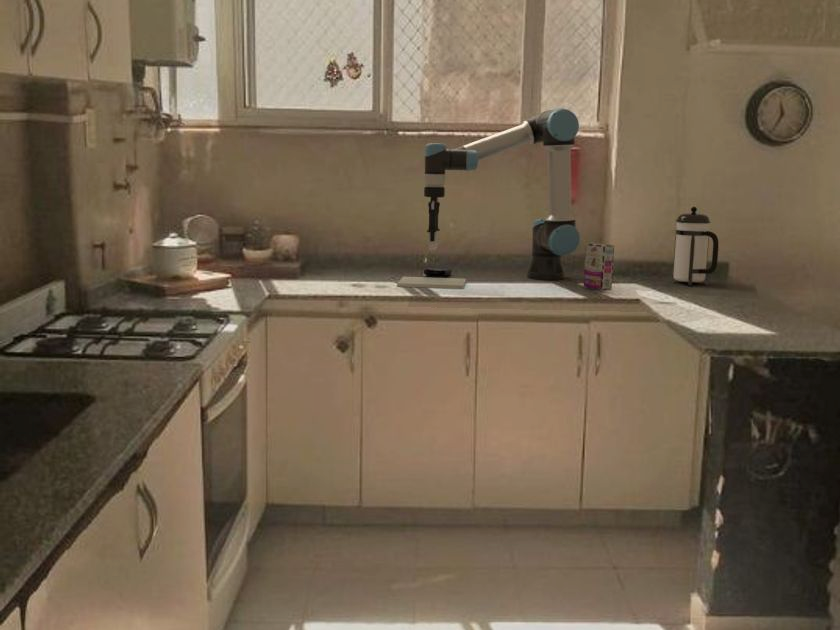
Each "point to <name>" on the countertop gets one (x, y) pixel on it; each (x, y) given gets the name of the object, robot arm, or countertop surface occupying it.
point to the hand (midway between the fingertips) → (432, 249)
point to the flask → (437, 272)
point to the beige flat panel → (432, 282)
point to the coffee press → (693, 248)
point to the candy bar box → (598, 266)
